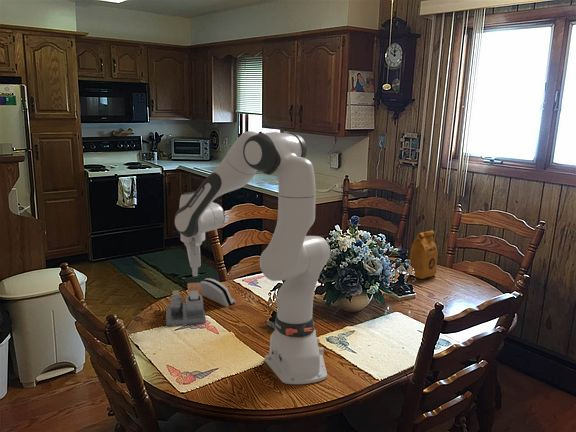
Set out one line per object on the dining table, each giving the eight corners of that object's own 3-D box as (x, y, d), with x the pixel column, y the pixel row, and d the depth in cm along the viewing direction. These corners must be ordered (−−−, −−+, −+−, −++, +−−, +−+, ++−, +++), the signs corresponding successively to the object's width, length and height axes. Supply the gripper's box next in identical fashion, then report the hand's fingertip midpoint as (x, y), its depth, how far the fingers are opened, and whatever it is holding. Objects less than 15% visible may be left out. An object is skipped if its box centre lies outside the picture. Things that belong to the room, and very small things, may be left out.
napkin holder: (236, 303, 197) (230, 283, 192) (228, 310, 194) (220, 290, 190) (212, 291, 208) (205, 272, 204) (203, 298, 206) (196, 279, 201)
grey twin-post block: (205, 322, 179) (205, 302, 177) (166, 326, 176) (165, 305, 174) (202, 305, 195) (201, 286, 193) (165, 307, 191) (165, 288, 190)
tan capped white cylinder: (200, 312, 183) (200, 286, 181) (188, 313, 182) (188, 287, 179) (199, 308, 187) (199, 282, 185) (188, 309, 186) (187, 283, 184)
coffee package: (439, 276, 233) (443, 232, 228) (421, 281, 226) (425, 235, 221) (423, 270, 241) (426, 227, 236) (405, 275, 234) (409, 230, 229)
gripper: (204, 242, 169) (205, 280, 172) (199, 228, 188) (200, 262, 191) (185, 243, 167) (187, 281, 170) (182, 229, 187) (184, 264, 190)
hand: (194, 271), depth 181 cm, fingers open, 8 cm apart
